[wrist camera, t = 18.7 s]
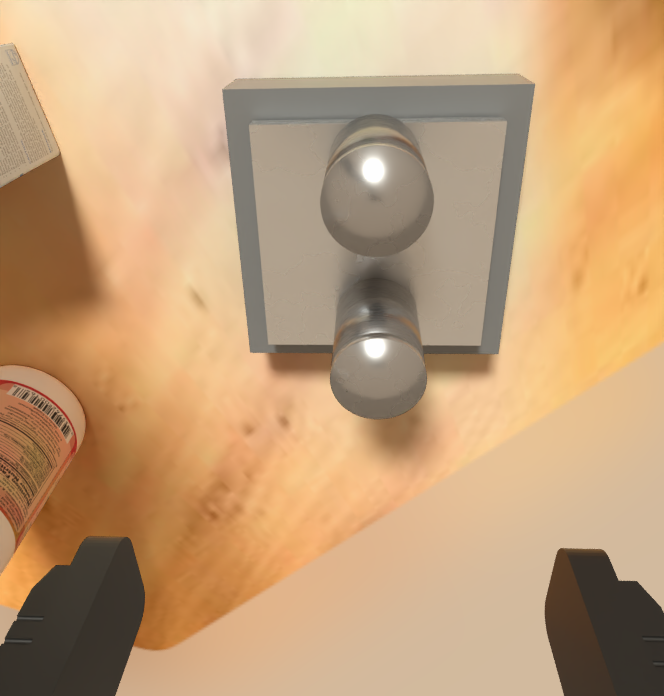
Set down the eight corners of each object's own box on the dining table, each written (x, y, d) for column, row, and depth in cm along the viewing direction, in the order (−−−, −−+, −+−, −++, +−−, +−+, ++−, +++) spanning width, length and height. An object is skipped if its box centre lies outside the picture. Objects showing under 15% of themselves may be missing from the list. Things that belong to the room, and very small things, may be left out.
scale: (260, 329, 44) (250, 361, 40) (236, 79, 35) (221, 90, 32) (486, 330, 43) (498, 363, 39) (518, 73, 34) (536, 84, 31)
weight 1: (327, 114, 31) (317, 146, 25) (423, 113, 31) (437, 144, 25) (330, 207, 33) (321, 257, 27) (419, 206, 33) (430, 256, 27)
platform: (270, 335, 39) (268, 344, 38) (252, 120, 32) (248, 124, 31) (477, 335, 38) (480, 345, 37) (502, 116, 32) (507, 121, 31)
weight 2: (321, 299, 36) (312, 362, 30) (395, 264, 35) (401, 323, 29) (359, 361, 38) (357, 431, 32) (430, 330, 37) (442, 398, 31)
